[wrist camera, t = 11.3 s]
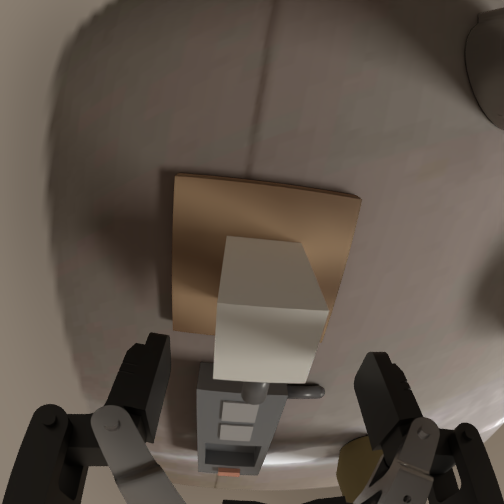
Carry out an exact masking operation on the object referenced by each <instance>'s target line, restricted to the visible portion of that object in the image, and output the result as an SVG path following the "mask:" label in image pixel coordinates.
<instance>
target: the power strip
mask: <svg viewBox="0 0 504 504" xmlns="http://www.w3.org/2000/svg"><path fill="white" fill-rule="evenodd" d="M213 370H214V363H205V362H201V363H200V370H199V376H198V383H197V448H198V472H207V473H218V475H219V476H235V477H239V475H258V474H259V471H260V469H261V466H262V464H263V461H264V459H265V457H266V454H267V451H268V449H269V446H270V444H271V441H272V439H273V436H274V433H275V431H276V428H277V425H278V423H279V420H280V417H281V414H282V412H283V409H284V406H285V403H286V400H287V399H317V398H322V397H323V396H324V394H325V390H324V388H323V387H321V386H287V383H270V384H269V388H268V392H267V396H266V400H265V401H264V402H263V403H261V404H259V405H251V404H248V403H246V402H245V401H244V400H243V399H242V397H241V392H242V386H243V381H233V380H220V379H213Z"/></svg>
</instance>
